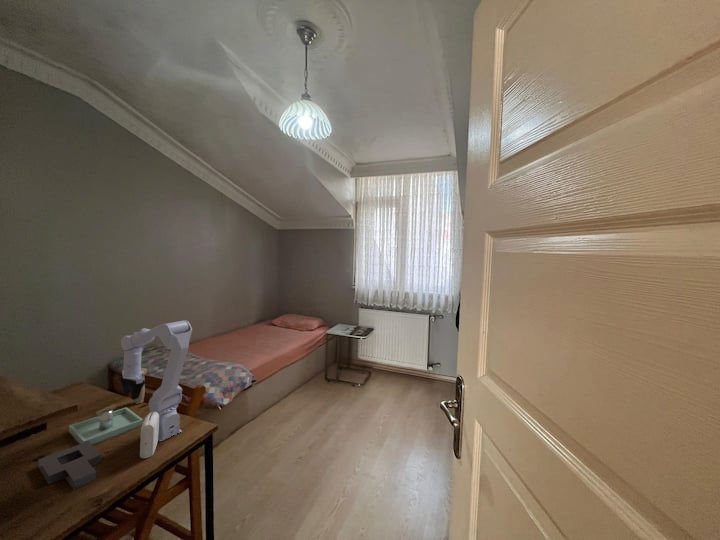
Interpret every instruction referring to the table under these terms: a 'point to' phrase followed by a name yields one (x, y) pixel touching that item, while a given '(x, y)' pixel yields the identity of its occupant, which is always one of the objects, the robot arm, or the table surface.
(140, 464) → the table surface
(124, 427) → the tray
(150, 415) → the photo printer
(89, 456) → the plate
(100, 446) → the table surface
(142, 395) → the handle
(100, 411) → the clear tall piece
